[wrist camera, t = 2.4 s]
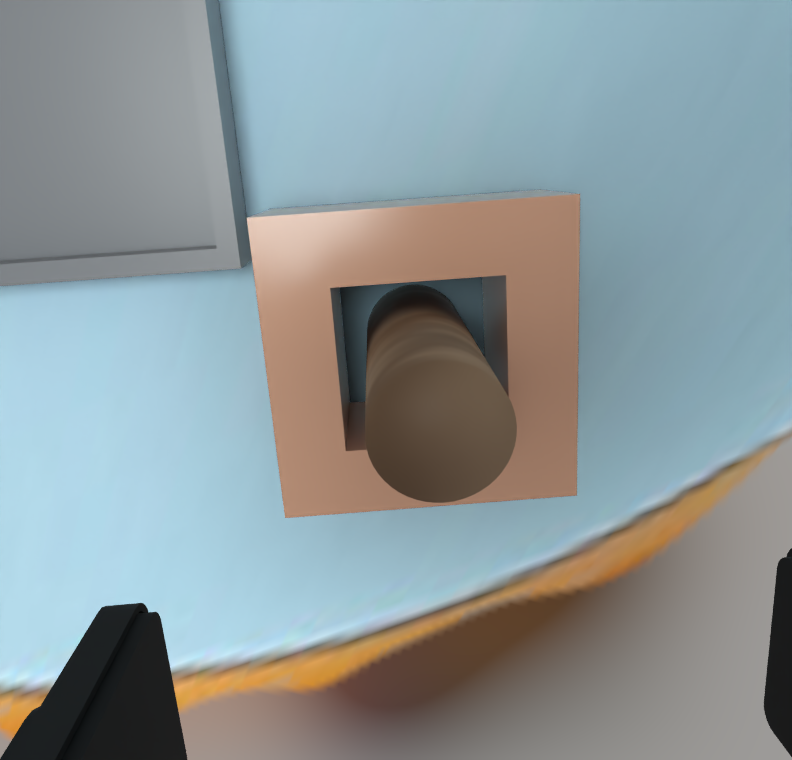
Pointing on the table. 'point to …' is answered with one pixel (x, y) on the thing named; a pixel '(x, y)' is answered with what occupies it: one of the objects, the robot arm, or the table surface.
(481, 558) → the table surface
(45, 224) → the tray
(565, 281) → the well block
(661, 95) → the table surface
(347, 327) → the table surface
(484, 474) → the dowel pin
